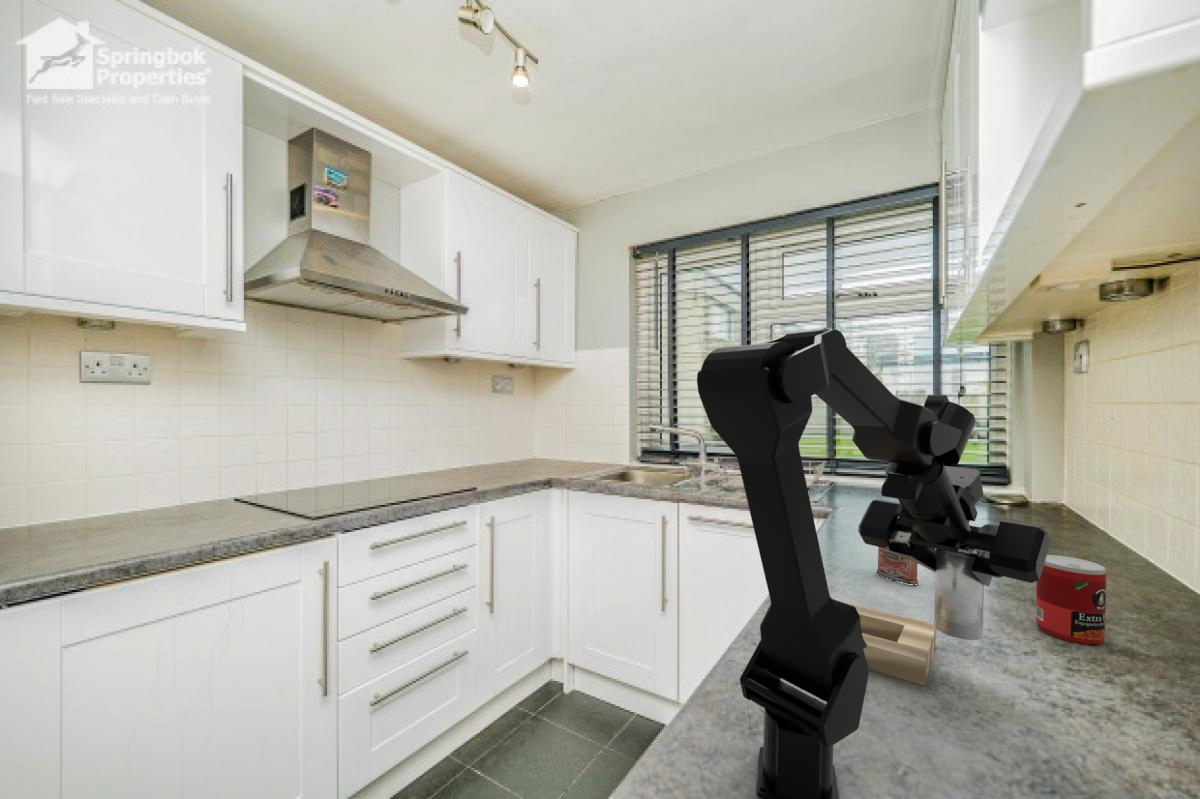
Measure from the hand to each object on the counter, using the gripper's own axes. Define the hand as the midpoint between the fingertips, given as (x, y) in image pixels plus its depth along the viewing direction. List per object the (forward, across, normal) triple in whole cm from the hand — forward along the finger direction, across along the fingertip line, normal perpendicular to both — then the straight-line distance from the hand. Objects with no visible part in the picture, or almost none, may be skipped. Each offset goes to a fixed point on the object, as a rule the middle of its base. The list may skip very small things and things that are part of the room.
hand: (963, 576), depth 66 cm
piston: (+4, 0, +6) cm, 7 cm away
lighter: (+32, +23, -14) cm, 41 cm away
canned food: (+29, -4, -12) cm, 32 cm away
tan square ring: (+7, +10, +10) cm, 16 cm away
